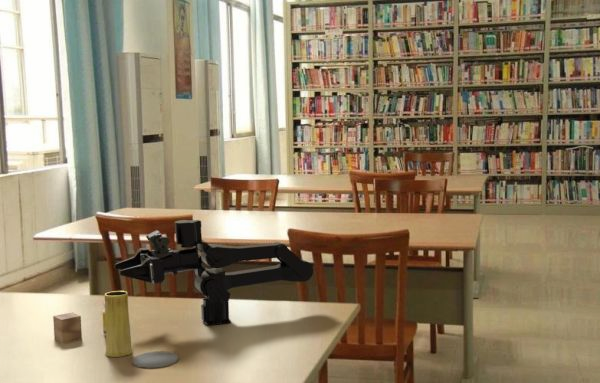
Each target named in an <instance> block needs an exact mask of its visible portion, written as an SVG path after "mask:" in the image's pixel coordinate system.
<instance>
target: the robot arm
mask: <svg viewBox="0 0 600 383" xmlns="http://www.w3.org/2000/svg"><path fill="white" fill-rule="evenodd" d="M174 230H175V232H174V233H175V242H176V243H175V244H178V245H179V246H180V248H181V249H175V250H174V249H171V248H169V247H168V246H169V244H170V243H171V241H170V239H169V237H168V236H164V235H163V234H162V233H161V232H160V231H159V230H157V229H156V230H154V231H152V232H150V233H148V234H146V235H145V236H146V239H147V240H148V241H149V243H150V245H151V248H152V250H150V249H148V248H147V247H140V248H138V249H137V250H136V252H135V253H134V255H133V256H132V257H130V258H126V259H124V260H121V261H119V262H117V263H114V269H115V270H119V274H120V276H122V277H127V278H131V279H135V280H138V281H143V282H147V283H150V284H154V285H157V284H162V283H163V282H164V280H165V275H167V274H172V275H177V274H178V273H181V272H186V271H187V272H188V271H194V273H195V275H196V276H195V279H194V286H195V288H196V289H197V290H198V291H199V292H200V293H201V295H202V296H203V297H205V298H202V304H201V305H200V307H201V308H200V309H201V320H202V321H203V322H204V323H205V324H206V325H205V326H213V325H221V324H230V323H232V320H231V319H230V309H229V308H230V306H229V302H230V301H229V300H230V297H231V293H230V292H229V291H230V290H232V289H235V288H240V287H247V286H255V285H260V284H267V283H273V282H278V281H283V282H284V281H285V282H293V283H294V282H295V283H306V282H308V281H310V280H311V278H312V277H313V275H314V267H313V265H312V264H311V263H310V262H309V261H307V260H305V259H302V258H300V257H299V256H298V255H297V254H296V253H294V252H293V251H292V250H291V249H289V247H288V246H287V245H286V244H284V243H282V242H279V241H274V242H272V243H260V244H248V245H246V244H245V245H236V246H234V245H227V244H220V243H208V242H207V241H205V240H203V238H202V221H201V220H200V219H195V220H194V219H180V220H176V221H174ZM182 248H183V249H182ZM199 252H200V254H199ZM269 259H277V261H279V262H280V263H278V264H276V265H271V266H265V267H264V266H263V267H256V268H250V269H243V270H237V271H230V272H227V271H226V270H225V269H223V268H224V267H228V266H231V265H234V263H235V264H236V263H238V262H247V261H248V262H250V261H257V260H258V261H259V260H269ZM203 263H205V265H207V266H208V267H210V268H206V267H204V266H203Z"/></svg>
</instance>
